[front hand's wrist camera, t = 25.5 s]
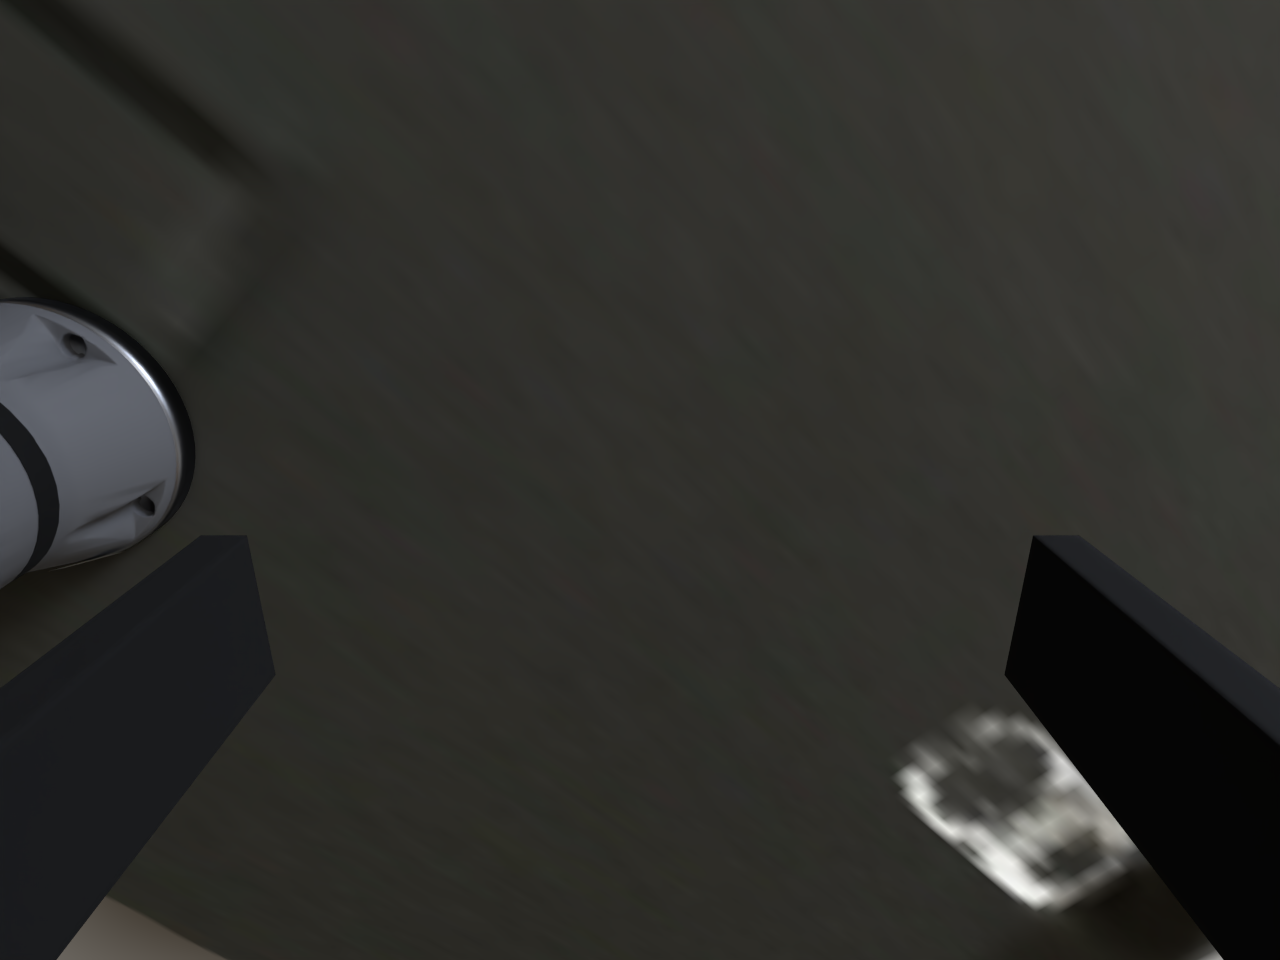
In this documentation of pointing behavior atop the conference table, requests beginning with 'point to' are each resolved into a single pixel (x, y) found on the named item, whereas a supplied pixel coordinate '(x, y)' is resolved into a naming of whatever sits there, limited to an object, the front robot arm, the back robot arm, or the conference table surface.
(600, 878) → the conference table surface
